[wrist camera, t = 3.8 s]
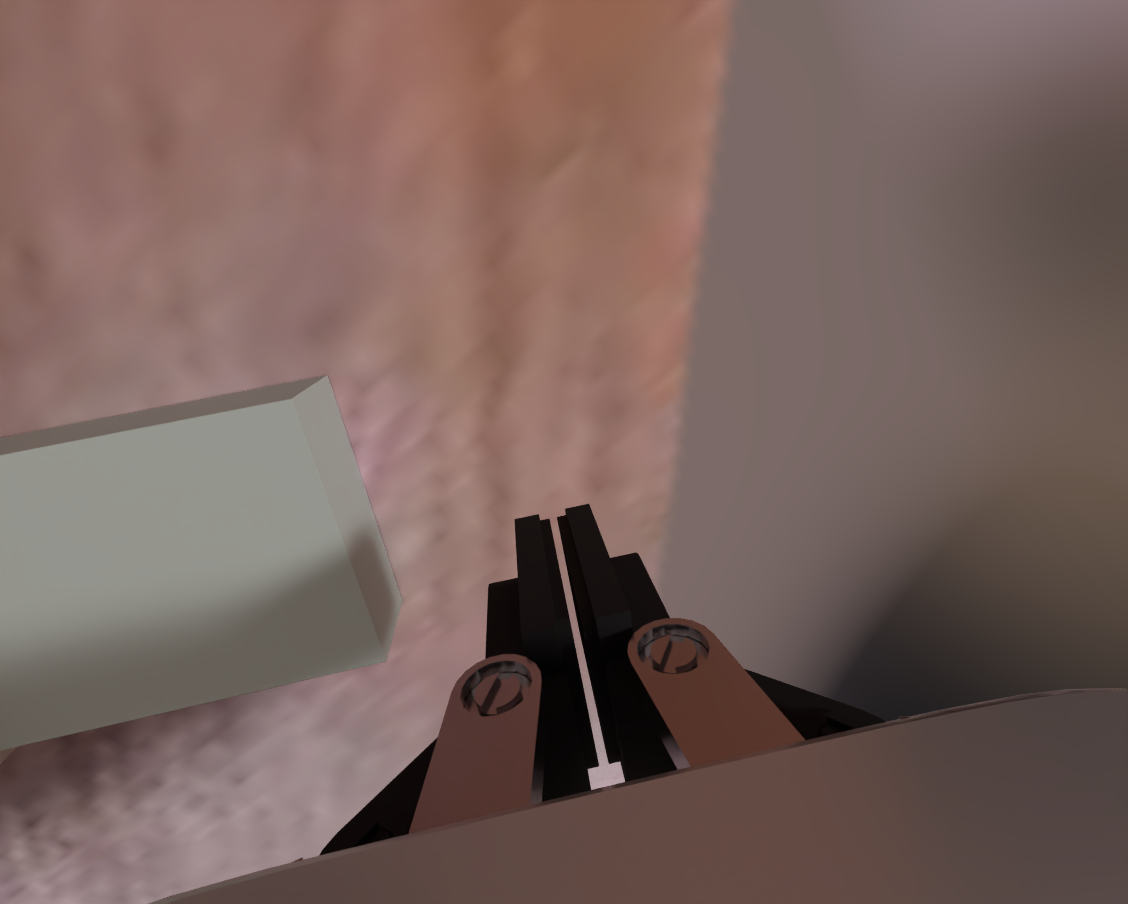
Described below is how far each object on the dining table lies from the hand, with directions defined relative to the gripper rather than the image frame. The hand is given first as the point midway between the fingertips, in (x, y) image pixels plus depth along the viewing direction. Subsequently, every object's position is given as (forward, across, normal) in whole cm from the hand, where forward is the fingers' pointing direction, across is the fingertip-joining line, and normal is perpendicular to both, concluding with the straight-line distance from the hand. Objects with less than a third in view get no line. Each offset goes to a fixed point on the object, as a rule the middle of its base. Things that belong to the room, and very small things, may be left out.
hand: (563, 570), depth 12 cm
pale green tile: (+6, +12, 0) cm, 13 cm away
